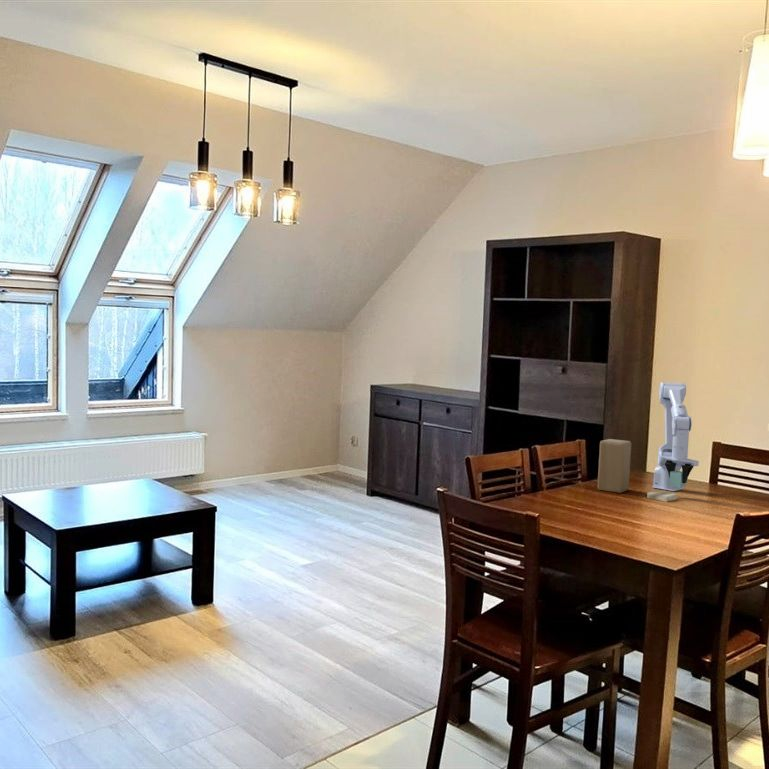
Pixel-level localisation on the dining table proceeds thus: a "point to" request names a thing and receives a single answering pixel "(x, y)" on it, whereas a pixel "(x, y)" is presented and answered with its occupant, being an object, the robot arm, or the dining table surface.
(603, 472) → the wooden block
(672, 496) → the cream block
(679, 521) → the dining table surface
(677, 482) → the teal block
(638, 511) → the dining table surface
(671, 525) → the dining table surface
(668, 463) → the robot arm
